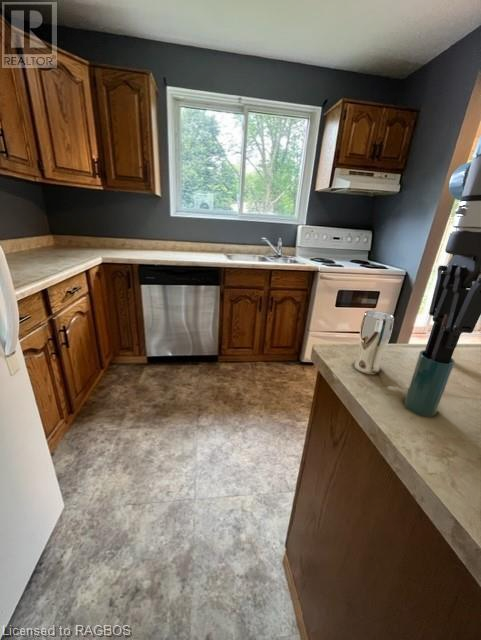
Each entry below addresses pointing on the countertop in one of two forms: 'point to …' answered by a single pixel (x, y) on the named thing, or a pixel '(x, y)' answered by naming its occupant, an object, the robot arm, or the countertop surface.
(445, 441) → the countertop surface
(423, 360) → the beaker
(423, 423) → the countertop surface
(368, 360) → the beer glass
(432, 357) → the brown stick
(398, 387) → the countertop surface
